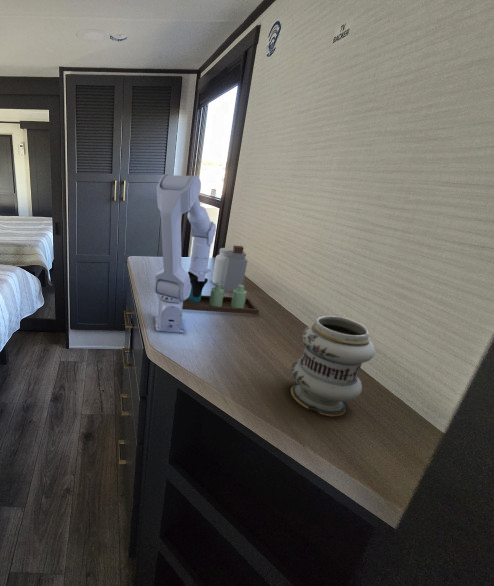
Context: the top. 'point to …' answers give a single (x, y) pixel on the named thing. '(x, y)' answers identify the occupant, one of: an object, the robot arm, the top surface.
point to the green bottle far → (238, 297)
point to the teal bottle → (194, 299)
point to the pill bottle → (220, 265)
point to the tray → (204, 306)
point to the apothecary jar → (331, 364)
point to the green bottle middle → (216, 296)
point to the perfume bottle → (234, 268)
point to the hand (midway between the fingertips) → (195, 294)
